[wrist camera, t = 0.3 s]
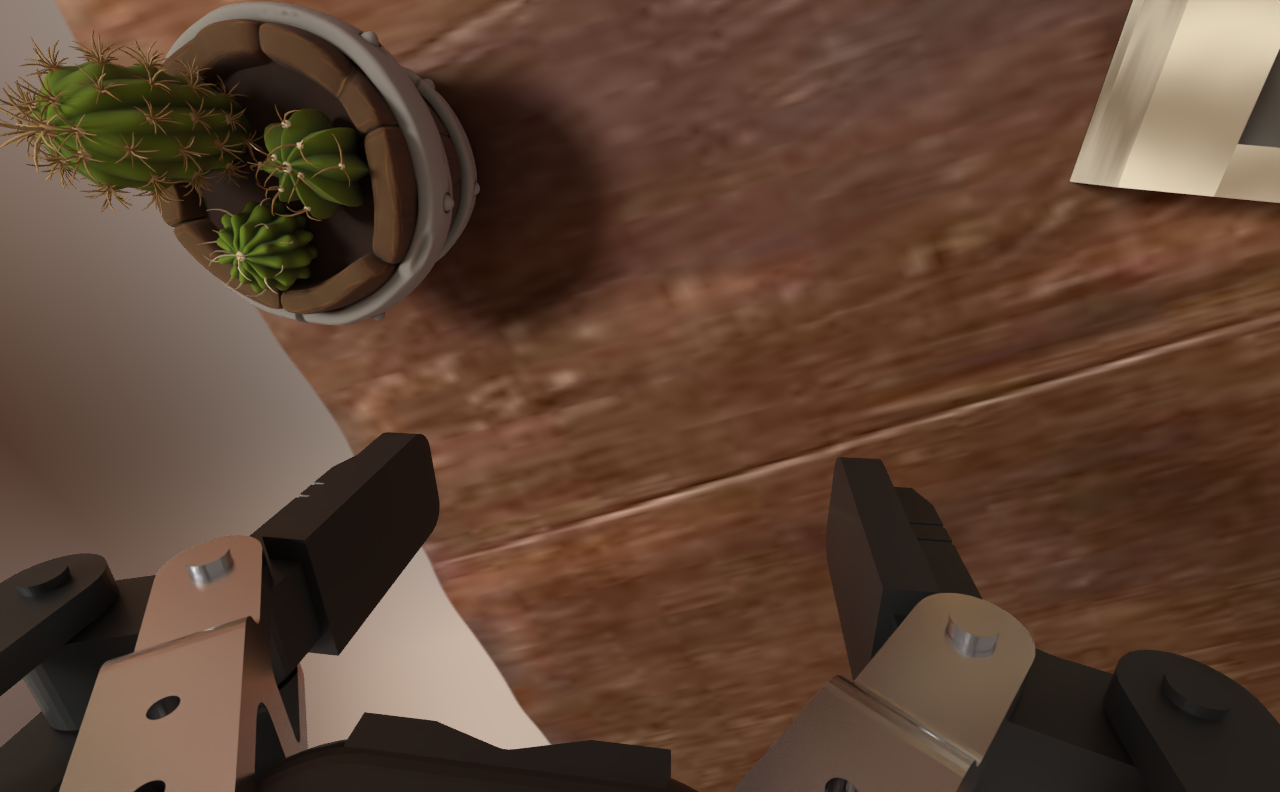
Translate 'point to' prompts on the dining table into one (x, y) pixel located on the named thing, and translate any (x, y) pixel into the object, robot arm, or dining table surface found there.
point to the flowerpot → (270, 155)
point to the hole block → (1190, 102)
